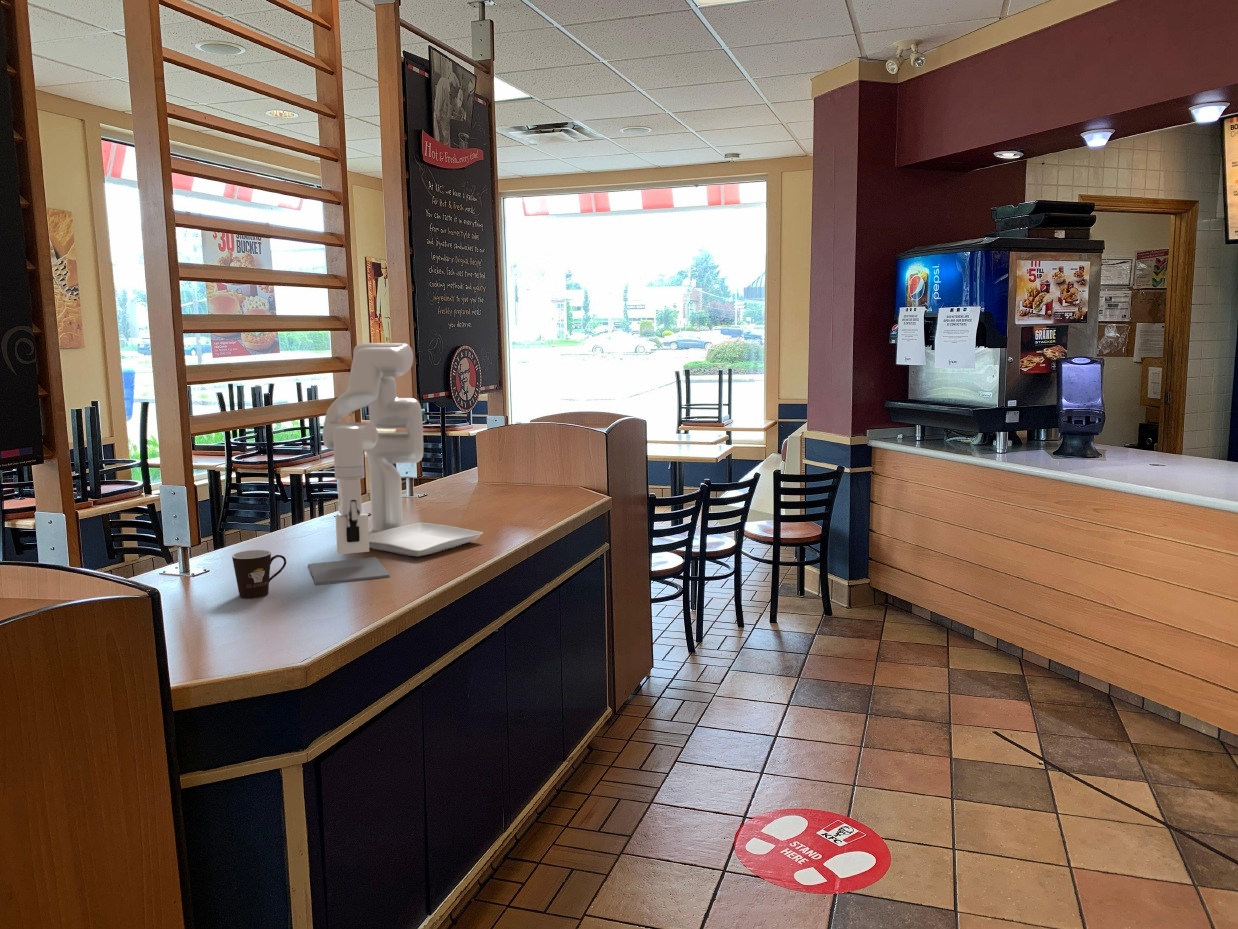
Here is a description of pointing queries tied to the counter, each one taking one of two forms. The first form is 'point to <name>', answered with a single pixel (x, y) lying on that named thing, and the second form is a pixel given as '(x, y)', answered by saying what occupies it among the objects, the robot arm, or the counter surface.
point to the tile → (341, 535)
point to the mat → (347, 570)
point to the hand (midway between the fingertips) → (352, 539)
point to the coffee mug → (254, 572)
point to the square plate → (421, 539)
